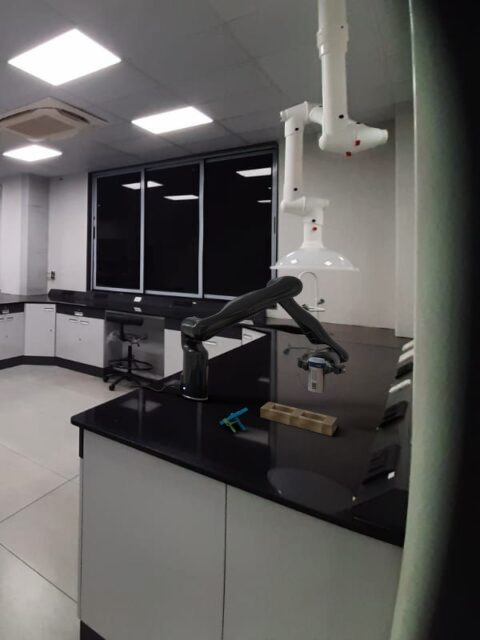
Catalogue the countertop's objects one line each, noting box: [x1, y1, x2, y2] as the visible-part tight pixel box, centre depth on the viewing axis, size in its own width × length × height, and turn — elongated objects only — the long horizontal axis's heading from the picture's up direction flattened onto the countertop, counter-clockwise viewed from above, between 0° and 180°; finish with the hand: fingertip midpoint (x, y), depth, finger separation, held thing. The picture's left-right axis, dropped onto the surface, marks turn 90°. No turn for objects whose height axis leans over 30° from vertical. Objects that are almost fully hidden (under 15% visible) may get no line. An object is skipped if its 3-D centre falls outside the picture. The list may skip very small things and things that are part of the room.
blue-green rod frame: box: [219, 407, 249, 433], centre depth 135 cm, size 11×6×10 cm
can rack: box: [259, 401, 338, 437], centre depth 143 cm, size 20×11×4 cm, turn 41°
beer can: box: [307, 356, 326, 395], centre depth 142 cm, size 5×5×12 cm
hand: (315, 369), depth 141 cm, fingers closed on beer can, 4 cm apart
